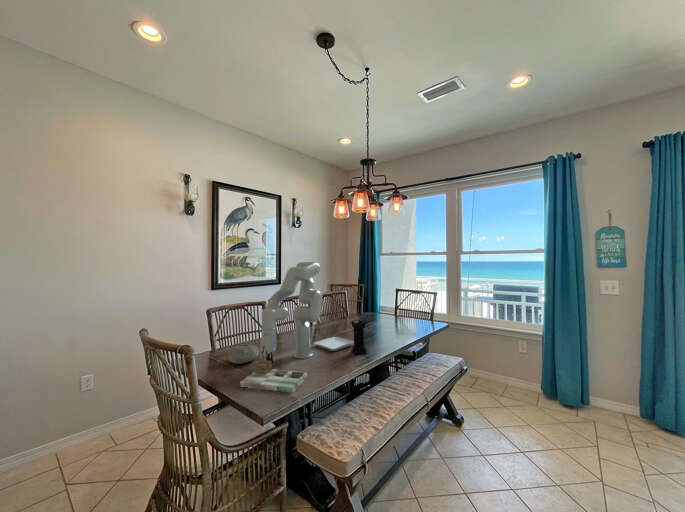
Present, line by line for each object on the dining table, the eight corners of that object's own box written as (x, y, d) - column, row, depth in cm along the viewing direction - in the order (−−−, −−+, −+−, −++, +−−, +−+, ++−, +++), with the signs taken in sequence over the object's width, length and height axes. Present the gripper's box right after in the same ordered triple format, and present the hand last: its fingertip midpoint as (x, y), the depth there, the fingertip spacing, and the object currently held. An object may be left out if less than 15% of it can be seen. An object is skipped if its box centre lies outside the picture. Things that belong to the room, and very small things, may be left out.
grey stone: (245, 354, 186) (245, 339, 186) (265, 359, 176) (264, 343, 177) (221, 363, 170) (221, 347, 170) (241, 369, 161) (241, 351, 161)
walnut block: (261, 369, 154) (261, 360, 154) (271, 370, 152) (271, 360, 152) (255, 373, 148) (255, 364, 148) (265, 374, 147) (265, 365, 147)
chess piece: (367, 353, 182) (366, 322, 182) (356, 355, 179) (355, 324, 179) (362, 350, 189) (361, 320, 189) (351, 351, 186) (350, 321, 186)
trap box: (259, 372, 156) (259, 367, 156) (307, 376, 149) (307, 372, 149) (240, 387, 138) (239, 382, 139) (292, 393, 131) (292, 387, 131)
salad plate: (312, 347, 199) (312, 342, 199) (334, 340, 214) (334, 335, 214) (333, 354, 184) (333, 348, 184) (355, 346, 199) (355, 341, 199)
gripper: (269, 327, 165) (270, 359, 165) (255, 334, 150) (256, 369, 150) (281, 328, 163) (282, 360, 163) (268, 335, 148) (268, 370, 148)
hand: (269, 364), depth 156 cm, fingers closed
